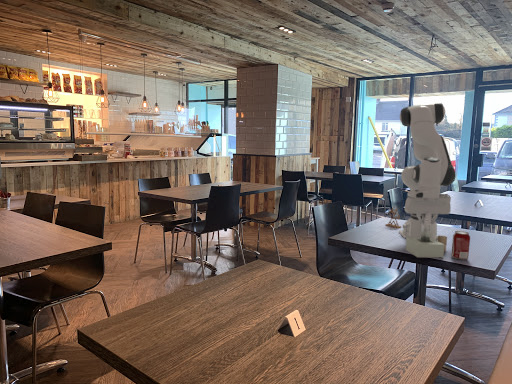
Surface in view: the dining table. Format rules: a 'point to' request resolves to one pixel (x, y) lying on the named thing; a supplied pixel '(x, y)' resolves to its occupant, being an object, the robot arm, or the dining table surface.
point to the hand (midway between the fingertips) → (426, 223)
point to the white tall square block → (426, 227)
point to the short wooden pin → (443, 241)
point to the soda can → (460, 245)
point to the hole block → (424, 248)
